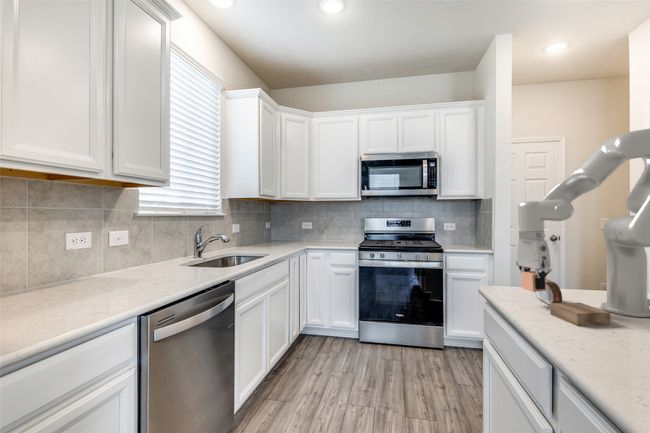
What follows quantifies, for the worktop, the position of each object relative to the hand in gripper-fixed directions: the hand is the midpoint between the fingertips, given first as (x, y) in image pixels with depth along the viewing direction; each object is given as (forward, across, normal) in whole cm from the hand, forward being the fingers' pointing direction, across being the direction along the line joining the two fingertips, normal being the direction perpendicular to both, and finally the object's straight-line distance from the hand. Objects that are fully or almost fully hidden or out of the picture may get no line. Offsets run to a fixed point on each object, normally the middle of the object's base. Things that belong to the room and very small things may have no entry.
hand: (533, 286), depth 108 cm
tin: (+7, +2, -7) cm, 10 cm away
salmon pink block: (+1, 0, 0) cm, 1 cm away
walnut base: (+7, -15, -2) cm, 17 cm away
